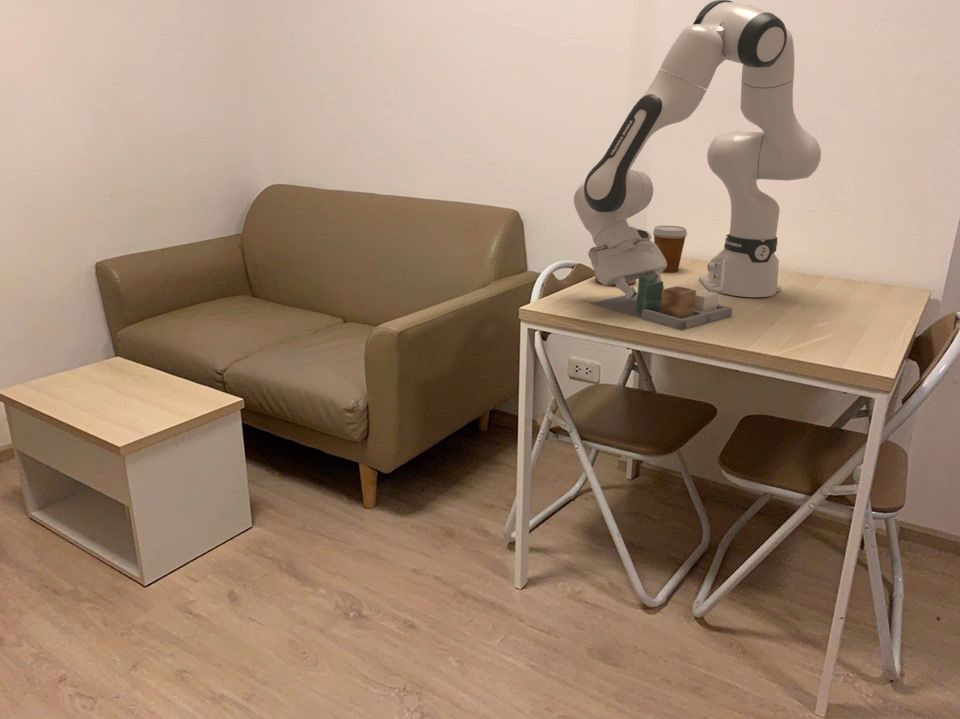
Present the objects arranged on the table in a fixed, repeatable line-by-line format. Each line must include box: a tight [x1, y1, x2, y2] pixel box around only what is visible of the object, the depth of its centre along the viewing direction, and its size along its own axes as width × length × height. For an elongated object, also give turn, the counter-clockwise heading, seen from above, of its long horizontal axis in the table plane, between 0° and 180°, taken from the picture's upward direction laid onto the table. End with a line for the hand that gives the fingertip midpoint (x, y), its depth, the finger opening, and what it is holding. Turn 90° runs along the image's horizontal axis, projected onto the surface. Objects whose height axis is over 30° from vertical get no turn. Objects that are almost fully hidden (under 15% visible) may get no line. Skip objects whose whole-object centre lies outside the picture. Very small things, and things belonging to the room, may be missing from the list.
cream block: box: [694, 289, 719, 312], centre depth 172 cm, size 5×5×5 cm
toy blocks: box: [636, 276, 697, 319], centre depth 170 cm, size 13×6×8 cm, turn 38°
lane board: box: [588, 292, 733, 331], centre depth 176 cm, size 27×18×2 cm, turn 38°
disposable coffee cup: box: [652, 225, 688, 273], centre depth 216 cm, size 10×10×12 cm
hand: (646, 293), depth 173 cm, fingers open, 8 cm apart
